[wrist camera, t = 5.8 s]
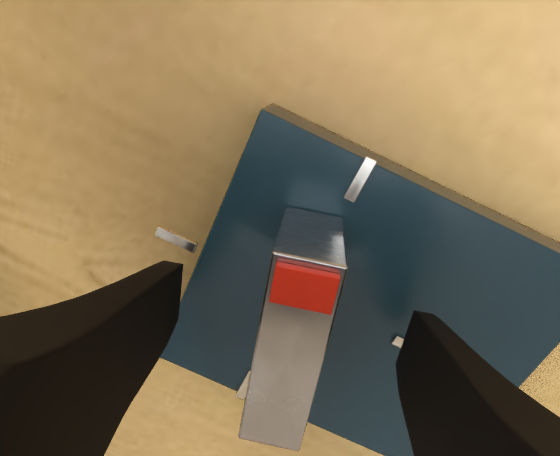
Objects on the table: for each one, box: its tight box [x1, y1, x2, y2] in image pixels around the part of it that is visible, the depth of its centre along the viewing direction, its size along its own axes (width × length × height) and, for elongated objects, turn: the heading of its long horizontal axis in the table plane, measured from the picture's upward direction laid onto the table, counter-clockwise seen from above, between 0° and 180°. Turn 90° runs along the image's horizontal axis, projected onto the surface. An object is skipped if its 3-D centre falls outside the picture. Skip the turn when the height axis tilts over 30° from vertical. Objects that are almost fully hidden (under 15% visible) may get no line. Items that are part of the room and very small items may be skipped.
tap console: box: [155, 104, 560, 456], centre depth 15 cm, size 14×10×3 cm
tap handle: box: [238, 207, 348, 451], centre depth 12 cm, size 6×2×4 cm, turn 170°
